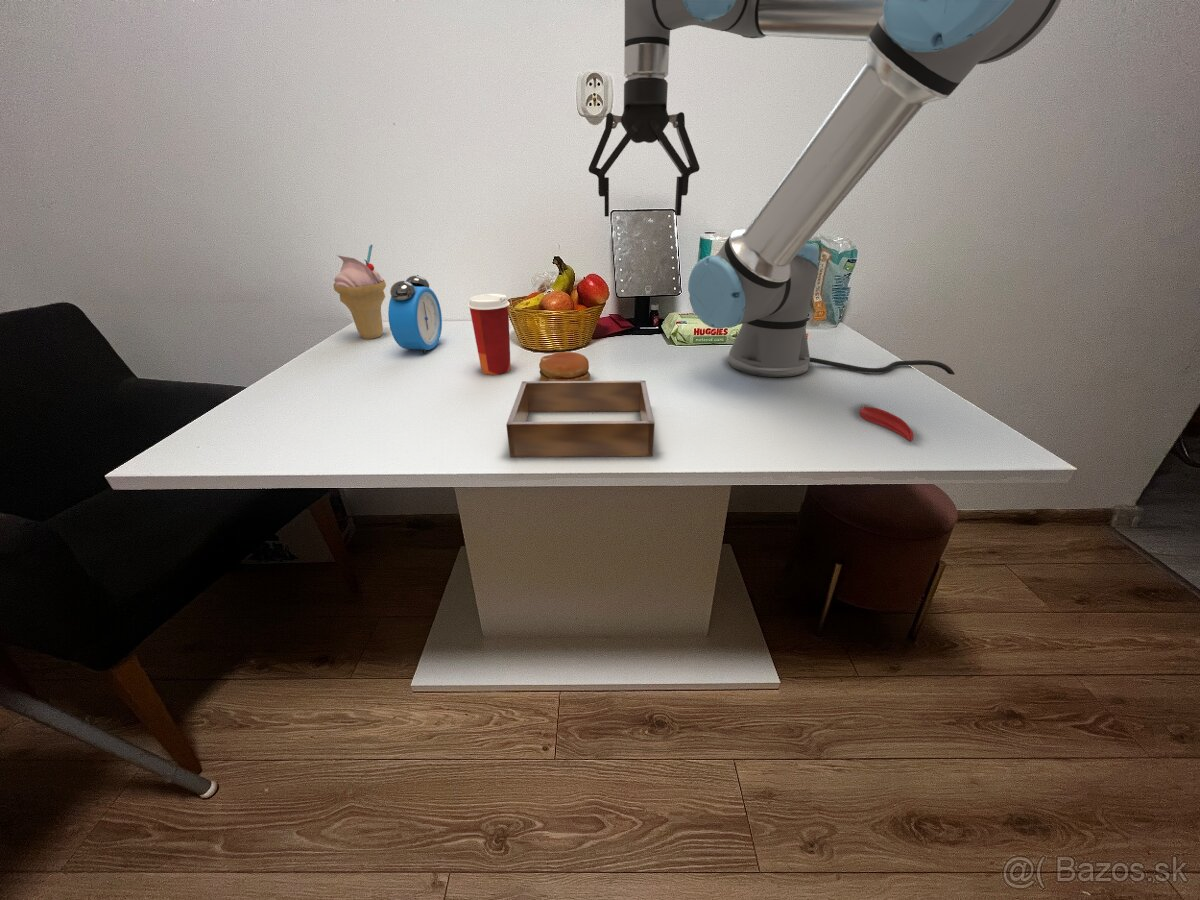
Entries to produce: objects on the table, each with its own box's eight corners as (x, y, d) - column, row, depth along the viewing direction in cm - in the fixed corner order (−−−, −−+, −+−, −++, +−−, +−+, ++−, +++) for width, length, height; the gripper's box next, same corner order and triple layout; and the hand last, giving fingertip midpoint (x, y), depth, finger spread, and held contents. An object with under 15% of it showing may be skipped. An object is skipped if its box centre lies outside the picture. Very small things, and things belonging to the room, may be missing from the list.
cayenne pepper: (851, 407, 83) (854, 396, 82) (879, 407, 83) (882, 396, 82) (887, 441, 73) (891, 429, 72) (919, 441, 73) (924, 429, 72)
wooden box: (644, 409, 83) (645, 380, 81) (652, 456, 70) (654, 423, 67) (524, 409, 83) (522, 381, 81) (509, 457, 70) (506, 424, 67)
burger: (597, 385, 92) (596, 361, 90) (546, 392, 90) (545, 367, 88) (581, 368, 101) (580, 345, 98) (534, 374, 98) (532, 351, 96)
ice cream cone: (371, 328, 128) (352, 242, 118) (405, 332, 124) (388, 244, 114) (336, 339, 119) (312, 248, 109) (371, 345, 115) (350, 251, 106)
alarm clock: (422, 358, 107) (408, 284, 99) (394, 357, 107) (378, 284, 100) (446, 340, 118) (435, 272, 111) (421, 339, 119) (409, 272, 111)
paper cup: (522, 365, 102) (516, 294, 96) (504, 378, 96) (496, 303, 89) (488, 361, 105) (479, 291, 98) (468, 374, 98) (457, 300, 92)
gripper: (713, 82, 91) (703, 213, 101) (573, 83, 90) (577, 214, 101) (723, 75, 84) (711, 216, 94) (572, 76, 84) (576, 217, 94)
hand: (642, 215), depth 97 cm, fingers open, 13 cm apart
